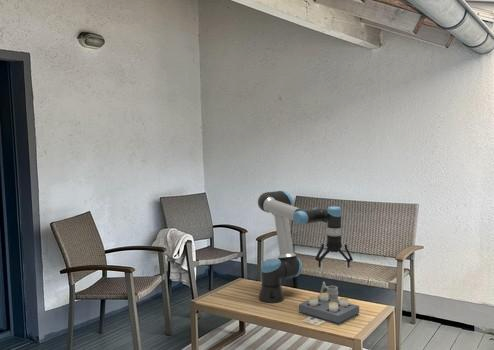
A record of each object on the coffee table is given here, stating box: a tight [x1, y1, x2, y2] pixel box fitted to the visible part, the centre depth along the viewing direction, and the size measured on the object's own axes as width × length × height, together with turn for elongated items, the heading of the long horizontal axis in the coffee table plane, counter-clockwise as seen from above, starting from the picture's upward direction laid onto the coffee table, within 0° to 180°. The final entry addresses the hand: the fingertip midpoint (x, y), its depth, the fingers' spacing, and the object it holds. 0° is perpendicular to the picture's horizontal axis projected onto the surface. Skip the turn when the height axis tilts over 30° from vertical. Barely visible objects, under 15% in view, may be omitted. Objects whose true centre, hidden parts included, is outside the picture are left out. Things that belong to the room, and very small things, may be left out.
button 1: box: [308, 296, 318, 307], centre depth 266 cm, size 5×5×5 cm
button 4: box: [338, 297, 349, 308], centre depth 264 cm, size 5×5×5 cm
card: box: [301, 316, 327, 327], centre depth 254 cm, size 10×7×1 cm
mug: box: [319, 281, 339, 300], centre depth 283 cm, size 8×12×12 cm, turn 48°
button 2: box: [319, 292, 328, 303], centre depth 273 cm, size 5×5×5 cm
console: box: [298, 295, 360, 326], centre depth 265 cm, size 26×20×5 cm
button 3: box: [329, 302, 338, 313], centre depth 257 cm, size 5×5×5 cm
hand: (333, 273), depth 265 cm, fingers open, 13 cm apart
